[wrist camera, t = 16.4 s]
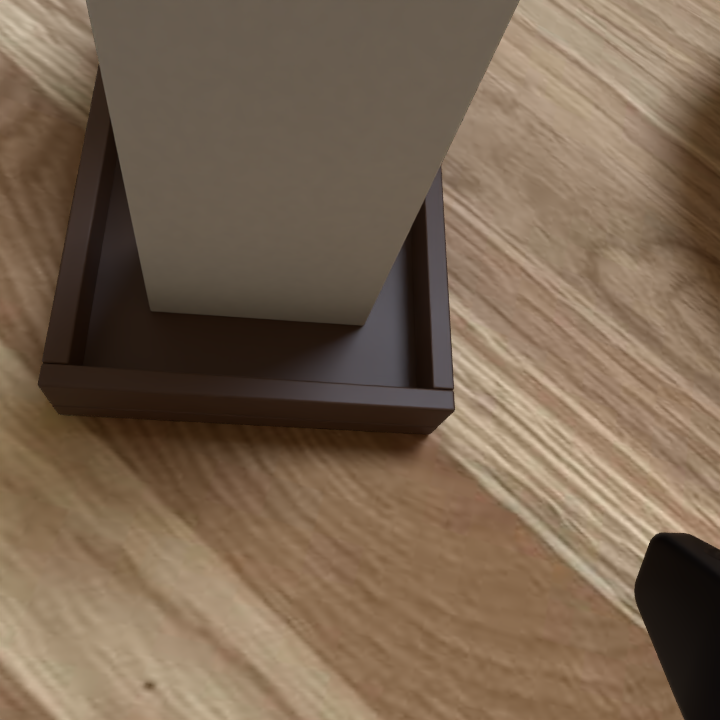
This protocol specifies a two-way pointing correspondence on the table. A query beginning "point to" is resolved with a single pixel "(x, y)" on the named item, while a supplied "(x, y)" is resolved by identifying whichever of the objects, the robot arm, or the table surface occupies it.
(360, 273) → the white book
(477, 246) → the table surface
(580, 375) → the table surface
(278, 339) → the book tray
